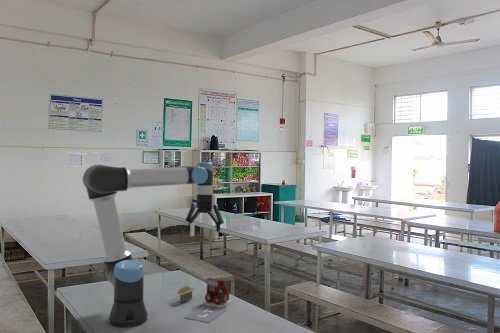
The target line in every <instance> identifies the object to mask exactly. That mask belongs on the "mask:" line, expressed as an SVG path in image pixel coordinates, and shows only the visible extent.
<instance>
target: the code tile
mask: <svg viewBox="0 0 500 333" xmlns="http://www.w3.org/2000/svg"><path fill="white" fill-rule="evenodd" d="M226 311H227V309H225V308H220V307H215V306H209V305H204V304H202V305H201V306H200V307H198V308H197V309H195V310H193V311H192V312H190V313H188V314H186V316H184V317H183V319H187V320H192V321H197V322H202V323H207V324H209V323H211V322H212V321H213V320H214V319H215V320H216V318H218V317H219V316H220V315H222V314H223V313H224V312H226Z"/></svg>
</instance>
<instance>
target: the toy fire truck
mask: <svg viewBox="0 0 500 333" xmlns="http://www.w3.org/2000/svg"><path fill="white" fill-rule="evenodd" d="M213 299H214V303H215V304H216V305H219V304H221V303H222V301H224V302H225V301H228V300H230V292H229V289H228V286H227V284H226V283H225V281H224V280H223V279H221V280H220V279H215V278H213V277H208V278H206V294H205V296H204V301H205V302H206V301H207V302H212V301H213Z"/></svg>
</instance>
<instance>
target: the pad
mask: <svg viewBox="0 0 500 333" xmlns="http://www.w3.org/2000/svg"><path fill="white" fill-rule="evenodd" d="M232 302H233V300H232V299H229V300H228V301H225V302H224V301H222V303H221V304H219V305H216V304H215V303H214V299H213V301H212V302H207V301H206V300H205V301H204V302H203V303H202V305H204V306H210V307H215V308H221V309H224V307H226V306H227V305H228V304H230V303H232Z"/></svg>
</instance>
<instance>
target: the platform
mask: <svg viewBox="0 0 500 333" xmlns="http://www.w3.org/2000/svg"><path fill="white" fill-rule="evenodd" d="M193 291H196V289H195V288H194V287H191V285H190V286H188V285H185V286H183V287H180V288H179V289H178V291H176V294H177V295H179V302H180V303H184V302H186V301H189V300H192V299H193Z"/></svg>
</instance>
